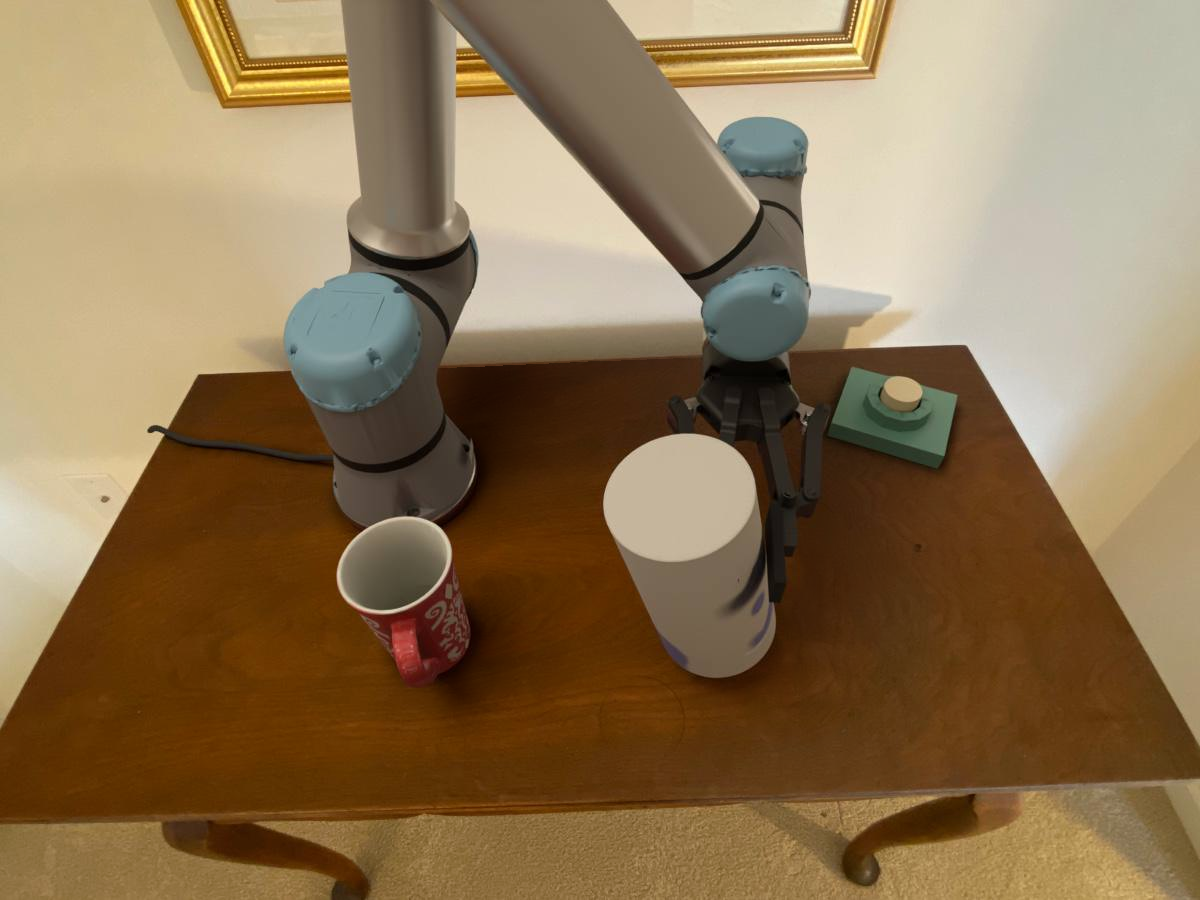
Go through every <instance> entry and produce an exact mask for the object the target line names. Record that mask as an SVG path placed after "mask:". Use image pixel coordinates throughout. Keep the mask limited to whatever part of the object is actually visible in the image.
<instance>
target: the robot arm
mask: <svg viewBox="0 0 1200 900" xmlns="http://www.w3.org/2000/svg"><path fill="white" fill-rule="evenodd" d="M340 5H341V6H340V7H341V14H342V16H341V17H342V23H343V24H342V26H343V35H344V44H345V54H346V63H347V65H346V66H347V73H348V83H349V92H350V93H349V94H350V102H351V112H352V121H353V122H352V123H353V132H354V140H355V142H354V143H355V150H356V151H355V152H356V160H357V161H356V162H357V170H358V171H357V172H358V180H359V190H360V196H359V197H358V198H356V199H355V200H354V201H353V202H352V204H351V205H350V206H349V207H348V210H347V212H346V227H347V236H348V237H347V239H348V245H349V253H350V265H349V270H348V272H347V273H344V274H340V275H337V276H334V277H331V278H329V279H327V280H325V281H324V282H323V285H324V286H323V287H321V288H317V287H312V288H311V289H309V290H308V291H307V292H306V293H304V295H303V296H302V297H301V298H300V299H299V300H298V301H297V302H296V304H295V305H294V306H293V307H292V309H291V311H289V312H290V313H289V314H288V316H287V319H286V321H285V324H284V330H283V348H284V352H285V355H286V358H287V360H288V362H289V363H288V364H289V367H290V371H291V375H292V378H293V381H294V382H295V384H296V386H297V388H298V389H299V391H300V392H301V394H303V396H304V399H305V401H306V403H307V404H308V406H309V408H310V410H311V412H312V414H313V417H314V418H315V420H316V422H317V424H318V426H319V428H320V430H321V432H322V434H323V436H324V438H325V440H326V441H327V444H328V446H329V447H330V449H331V451H332V453H333V454H305V453H304V454H303V453H294V452H289V451H283V450H279V449H275V448H271V447H266V446H261V445H255V444H252V443H251V444H250V443H244V442H238V441H237V442H236V441H225V440H209V439H199V438H193V437H187V436H184V435H181V434H178V433H176V432H174V431H173V430H170V429H168V428H166V427H164V426H162V425H159V424H153V425H149V427H148V428H147V430H146V432H147V433H149V434H153V433H155V432H158V433H160V434H162V435H163V436H164V435H165V436H167V437H168V438H171V439H173V440H174V441H177V442H180V443H182V444H187V445H192V446H199V447H205V448H207V447H208V448H220V449H234V450H243V451H250V452H254V453H260V454H264V455H268V456H273V457H277V458H282V459H287V460H294V461H299V462H300V461H301V462H331V463H333V468H334V470H333V475H332V491H333V496H334V499H335V501H336V503H337V505H338V507H339V509H340V511H341V513H342V515H343V516H344V517H345V519H346V520H347V521H348V522H349V524H351V525H352V526H353V527H354V528H356V529H358V530H359V531H361V532H362V531H364V530H365V529H367V528H368V527H370V526H372V525H374V524H376V523H378V522H381V521H383V520H387V519H390V518H395V517H403V516H410V517H418V518H423V519H426V520H429V521H431V522H433V523H435V524H436V525H438V526H439V527H441V526H443V525H444V524H446V523H447V522H449V521H450V520H452V519H453V518H455V516H456V515H458V514H459V513H460V512H461V511H462V510H463V509H464V507H465V506H466V505H467V504H468V502H469V501H470V499H471V498H472V496H473V494H474V492H475V489H476V486H477V482H478V476H479V469H478V468H479V467H478V463H477V460H476V459H477V458H476V455H475V451H474V444H473V439H472V438H470V440H469V439H468V438H467V436H466V435H465V434H464V433H463V432H462V431H461V430H460V429H459V428H458V426H457V425H456V424H455V423H454V422H453V420H451V419H450V417H448V415H447V414H446V412H445V408H444V404H443V401H442V398H441V395H440V391H439V388H438V384H437V376H438V375H437V374H438V370H439V368H440V366H441V363H442V362H443V361H442V360H443V358H444V356H445V354H446V351H447V348H448V346H449V344H450V341H451V339H452V336H453V334H454V332H455V329H456V327H457V325H458V322H459V320H460V318H461V315H462V313H463V310H464V308H465V306H466V303H467V302H468V299H469V298H470V297H471V295H472V292H473V290H474V288H475V285H476V282H477V278H478V273H479V272H478V270H479V263H480V262H479V261H480V256H479V255H480V254H479V247H478V243H477V240H476V238H475V235H474V233H473V231H472V230H471V224H470V218H469V215H468V212H467V211H466V209H465V208H464V207H463V206H462V205H461V204H460V203H459V202H457V201H456V197H455V196H456V123H457V122H456V117H457V116H456V112H457V111H456V110H457V109H456V106H457V35H458V34H459V35H460V36H461V37H462V38H463V39H464V40H465V41H466V42H467V44H468V45H469V46H470V47H471V48H472V49H473V50H474V51H475V52H476V53H477V54H478V55H479V56H480V58H481V59H482V60H483V61H484V62H485V63H486V64H487V65H488V67H489V68H490V69H491V70H492V71H493V72H494V73H495V74H496V75H497V76H498V77H499V78H500V80H501V81H502V82H503V83H504V84H505V85H506V86H507V87H508V88H509V90H511V92H513V94H514V95H515V96H516V97H517V98H518V99H519V100H520V101H521V102H522V104H523V105H524V106H525V107H526V108H527V109H528V110H529V112H531V113H532V115H533V116H534V117H535V118H536V119H537V120H538V121H539V123H541V124H542V125H543V126H544V128H545V129H546V130H547V131H548V132H549V133H550V134H551V135H552V136H553V137H554V139H555V140H556V141H557V142H558V143H559V144H560V145H561V146H562V147H563V148H564V150H565V151H566V152H567V153H568V154H569V156H571V157H572V158H573V159H574V161H576V163H577V164H578V165H579V166H580V167H581V168H582V169H583V170H584V171H585V173H586V174H587V175H588V176H589V177H590V178H591V179H592V180H593V181H594V182H595V183H596V184H597V186H598V187H599V188H600V189H601V190H602V191H603V192H604V194H605V195H606V196H607V197H608V198H609V199H610V200H611V201H612V202H613V203H614V204H615V205H616V207H618V209H619V210H620V211H621V212H622V214H624V215H625V217H627V219H628V220H629V221H630V222H631V223H632V224H633V225H634V226H635V227H636V228H637V230H638V231H639V232H640V233H641V234H642V235H643V236H644V237H645V238H646V239H647V240H648V241H649V242H650V244H651V245H652V246H653V247H654V248H655V249H656V250H657V251H658V253H659V254H660V255H661V256H662V257H663V258H664V259H665V260H666V261H667V262H668V263H669V264H670V265H671V266H672V268H673V269H674V270H675V271H676V273H678V274H679V276H680V277H681V278H682V279H683V281H684V282H685V283H686V284H687V286H688V287H689V288H690V289H691V290H692V291H693V292H694V293H695V294H696V296H697V297H699V299H700V300H701V302H702V303H701V307H700V317H701V319H702V334H701V335H702V338H701V340H702V341H701V355H702V357H701V385H700V387H699V388H698V389H697V391H696V393H695V396H693V397H690V398H687V399H684V398H683V397H681V396H679V395H671V396H670V397H669V398H668V399H667V400H668V401H667V404H668V405H667V418H666V422H667V424H668V425H669V428H670V429H671V431H672V432H673V435H675V434H696V430H695V424H696V422H697V417H698V416H697V414H699V415H700V416H701V417H702V418H703V419H704V420H705V421H706V422H707V424H708V425H709V426H710V427H711V428H712V429H713V430H714V431H715V432H716V433H717V434H718V440H721V441H723V442H725V443H727V444H728V445H730V446H731V447H733V448H735V447H734V446H735V442H743V441H748V442H752V443H756V448H757V452H758V455H759V456H760V457H761V463H762V467H763V471H764V476H765V480H766V486H767V491H768V495H769V500H770V502H769V505H768V509H767V513H766V517H765V521H764V542H765V550H766V559H767V578H768V596H769V602H771V603H774V604H780V603H781V601H782V599H783V596H784V592H785V590H786V587H787V583H788V582H787V568H786V558H793V556H794V554H795V552H796V549H797V546H798V543H799V533H798V532H799V531H798V522H797V518H799V517H802V518H804V519H809V518H812V517H813V516H814V515H815V511H816V508H817V506H818V503H819V500H820V497H821V495H822V494H821V493H822V466H823V465H822V464H823V463H822V461H823V435H824V433H825V432H826V427H827V425H828V421H829V419H830V415H831V412H832V408H831V406H830V405H829V404H826V403H818V404H817V405H816V406H815V408H814V407H813V406H809V405H807V404H805V403H802V402H801V401H800V400H801V399H800V396H799V395H798V394H797V392H796V391H795V390H794V388H793V384H792V375H791V364H790V355H789V354H790V353H789V351H790V350H791V349H793V347H794V346H796V344H798V342H799V341H801V339H802V338H803V336H804V334H805V333H806V330H807V327H808V323H809V317H810V316H809V314H810V300H811V296H812V288H811V286H810V285H811V284H810V281H809V276H808V265H807V258H806V256H807V255H806V248H805V247H806V246H805V234H804V233H805V231H804V220H803V206H802V189H803V183H804V179H805V178H804V177H805V175H806V174H807V173H808V166H807V159H808V152H809V140H808V139H809V138H808V136H807V135H806V133H805V131H804V130H803V129H802V128H801V127H800V126H798V125H797V124H795V123H793V122H792V121H789V120H786V119H783V118H778V117H773V116H751V117H745V118H741V119H738V120H735V121H733V122H731V123H729V124H728V125H727V126H726V127H724V128H723V129H722V130H721V132H720V133H719V135H718V138H717V141H715V139H714V138H713V137H712V135H711V134H710V133H709V131H708V130H707V128H705V126H704V125H703V124H702V122H701V121H700V119H698V117H697V116H696V115H695V113H694V111H693V110H692V109H691V108H690V106H689V105H688V104H687V102H686V101H685V99H683V97H682V96H681V95H680V93H679V92H678V91H677V90H676V88H675V87H674V85H672V83H671V82H670V80H669V79H668V78H667V77H666V75H665V74H664V72H663V71H662V70H661V69H660V67H659V66H658V65H657V64H656V62H655V61H654V59H652V57H651V55H650V54H649V53H648V52H647V50H646V49H645V48H644V46H643V44H641V42H640V41H639V40H638V39H637V37H636V36H635V35H634V34H633V32H632V31H631V29H630V28H629V27H628V25H627V24H626V22H625V21H624V20H623V19H622V18H621V16H620V15H619V13H618V12H617V11H616V10H615V8H614V7H613V6H612V5H611V3H610V2H609V0H340ZM457 32H458V34H457ZM793 419H795V420H796V421H797V423H798V424H797V429H798V430H799V434H800V435H802V436H803V437H802V441H801V447H800V460H799V461H800V465H799V479H798V480H799V481H798V490H796V491H795V488H794V483H793V479H792V475H791V472H790V467H789V463H788V459H787V455H786V450H785V446H784V442H783V439H782V430H783V429H784V428H785V427H787V426H788V424H789V423H790V422H791V421H792V420H793ZM738 582H739V579H738Z"/></svg>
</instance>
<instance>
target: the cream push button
mask: <svg viewBox="0 0 1200 900" xmlns="http://www.w3.org/2000/svg"><path fill="white" fill-rule="evenodd" d="M896 376H897V377H892V378H890V379H888V380H887V381H886V382H885V384H884V387H883V390H882V392H881V395H880V399H881V402H882V403H883V404H884V405H885V406H886V407H888V408H889V409H890V410H894V411H897V412H901V413H906V412H911V411H913V410H915V409H916V407H917V406H918V403H919V401H920V399H921V396H922V393H923V392H922V388H921V386H920V385H921V384H920V383H919V382H917V381H916V380H914V379H912V378H910V377H907V376H902V375H901V376H900V375H896ZM918 383H919V384H920V385H919V384H918Z"/></svg>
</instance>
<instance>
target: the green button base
mask: <svg viewBox="0 0 1200 900" xmlns="http://www.w3.org/2000/svg"><path fill="white" fill-rule="evenodd" d="M897 376H898V375H884V374H882V373H881V374H880V373H877V372H874V371H871V370H870V371H869V370H866V369H862V368H859V367H855V366H851V367H850V370H849V373H848V375H847V378H846V380H845V384H844V386H843V389H842V392H841V395H840V397H839V400H838V403H837V406H836V409H835V411H834V414H833V417H832V420H831V422H830V425H829V429H828V432H827V436H828V437H830V438H833V439H837V440H840V441H844V442H846V443H850V444H853V445H857V446H860V447H863V448H867V449H870V450H873V451H876V452H880V453H883V454H887V455H890V456H893V457H895V458H900V459H903V460H906V461H910V462H912V463H915V464H920V465H923V466H926V467H930V468H933V469H936V470H938V469H939V467H941V464H942V462H943V460H944V458H945V456H946V450H947V447H948V441H949V437H950V433H951V428H952V424H953V418H954V416H955V415H954V414H955V411H956V410H955V409H956V406H957V401H958V394H955V393H952V392H947V391H944V390H940V389H937V388H932V387H929V386H926V385H922V384H920V383H919V382H917V383H918V384H919V385H920V386H921V388H922V392H923V393H922V396H921V399H920V401H919V403H918V406H917V407H916V409H915V410H913V411H911V412H906V413H901V412H897V411H894V410H890V409H889V408H888V407H886V406H885V405H884V404H883V403H882V402H881V399H880V395H881V392H882V390H883V387H884V384H885V382H886V381H887V380H888V379H890V378H892V377H897Z"/></svg>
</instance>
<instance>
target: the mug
mask: <svg viewBox="0 0 1200 900" xmlns="http://www.w3.org/2000/svg"><path fill="white" fill-rule="evenodd" d="M451 543H452V542H451V540H450V538H449V537H448V535H447V533H446V532H445V531H444V530H443V529H442V528H441V526H438V525H436V524H435V523H433V522H431V521H429V520H426V519H423V518H418V517H410V516H403V517H395V518H390V519H387V520H383V521H381V522H378V523H376V524H374V525H372V526H370V527H368V528H367V529H365V530H364V531H361V532H360V533H358V534H357V535H356V536H355V537H354V538H353V539H352V540H351V541H350V542H349V543H348V544H347V546H346V547H345V549H344V550H343V552H342V554H341V556H340V558H339V561H338V564H337V568H336V577H335V578H336V586H337V589H338V592H339V594H340V596H341V598H342V599H343V600H344V601H345V603H347V604H348V605H349V606H350V607H351V608H353V609H355V611H356V612H357V613H358V615H359V616H360V618H361V619H362V620H363V621H364V623H366V624H365V625H367V626H368V627H369V629H370V630H371V631H372V632H373V634H374V635H375V637H376V638H377V639H378V641H379V642H380V643H381V645H383V647H384V648H385V650H386V651H387V652H388V653H389V654H390V656H391V657H392V658H393V660H394V661H395V663H396V667H397V669H398V673H399V675H400V677H401V678H402V680H403V682H404V684H405V685H407V687H409V688H412V689H413V688H420V687H424V686H426V685H430V684H431V683H433V682H434V681H435V679H436V678H437V676H438V675H439V674H442V673H444V672H447V671H448V670H450V669H451V668H453V667H454V666H455V665H457V664H458V663H459V662H460V661H461V659H462V658H463V657H464V655H465V654H466V652H467V650H468V647H469V644H470V640H471V626H470V622H469V618H468V615H467V611H466V607H465V604H464V599H463V594H462V591H461V588H460V583H459V580H458V575H457V572H456V567H455V564H454V560H453V555H454V554H453V547H452V544H451Z"/></svg>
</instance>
